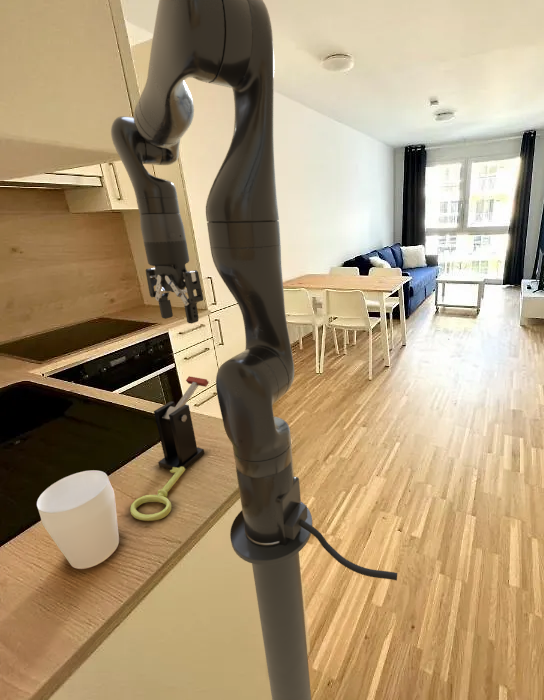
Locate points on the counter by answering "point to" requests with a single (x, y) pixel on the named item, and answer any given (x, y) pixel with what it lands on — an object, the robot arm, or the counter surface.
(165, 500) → the key
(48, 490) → the cup
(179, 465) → the bracket
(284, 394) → the robot arm
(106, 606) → the counter surface
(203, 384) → the lever
